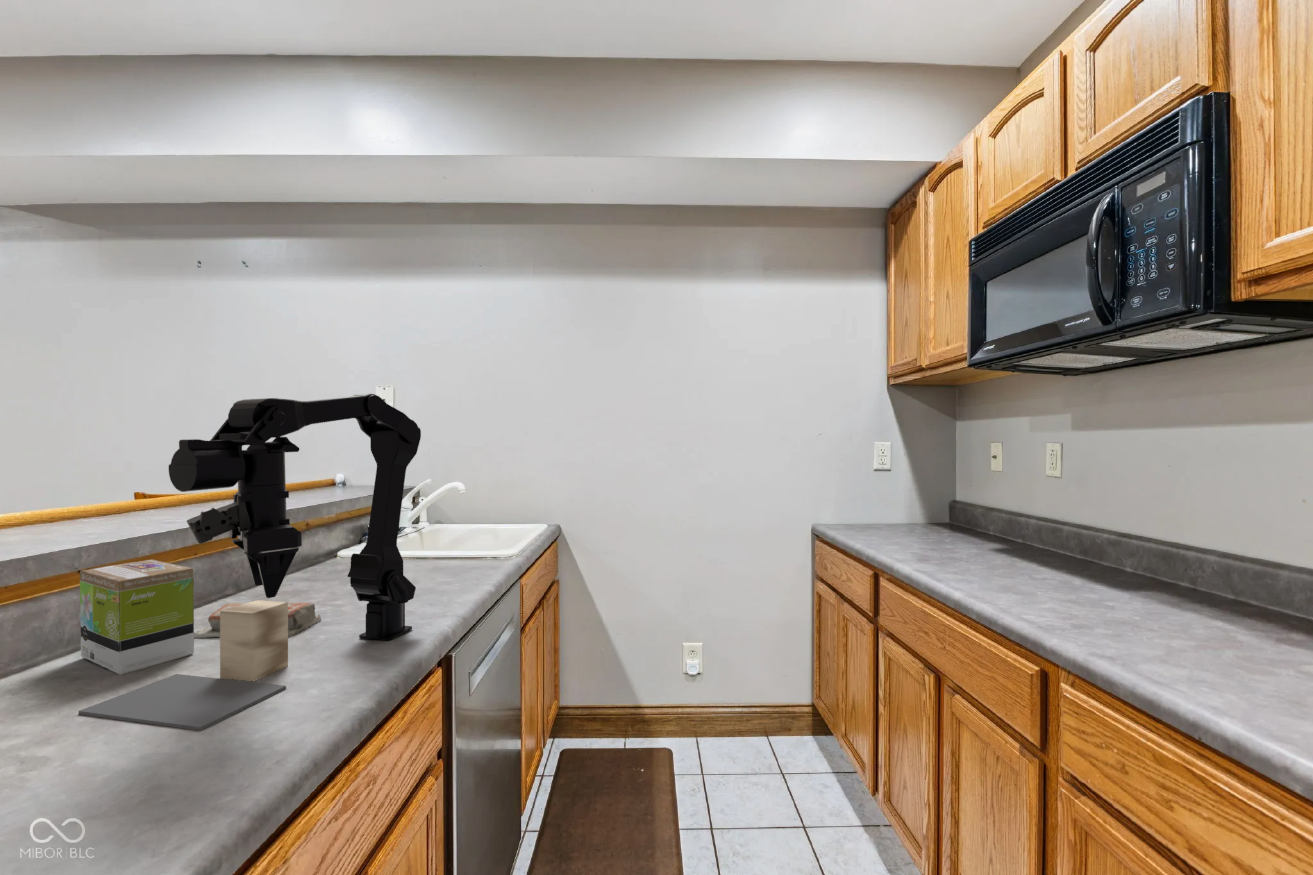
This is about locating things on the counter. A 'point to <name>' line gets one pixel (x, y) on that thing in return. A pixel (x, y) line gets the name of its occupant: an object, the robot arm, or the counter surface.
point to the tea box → (136, 614)
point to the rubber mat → (184, 701)
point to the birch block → (253, 640)
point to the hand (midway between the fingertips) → (265, 591)
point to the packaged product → (297, 619)
